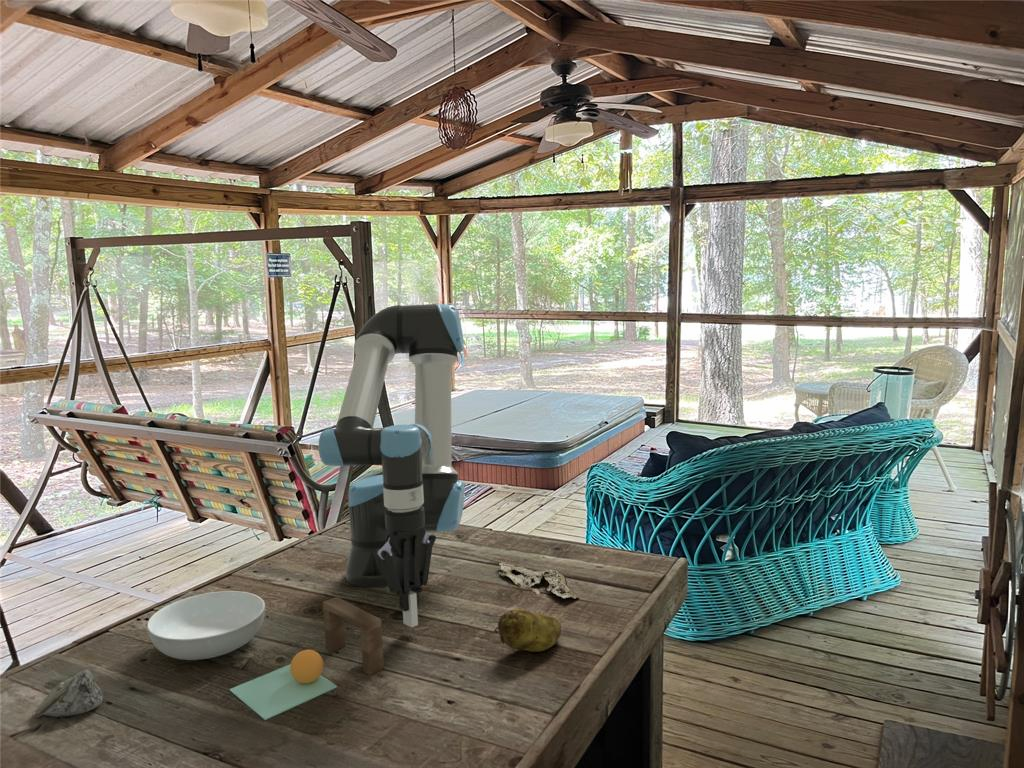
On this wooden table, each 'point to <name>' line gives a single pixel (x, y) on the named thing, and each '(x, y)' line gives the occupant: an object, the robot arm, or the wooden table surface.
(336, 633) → the bridge
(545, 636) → the potato
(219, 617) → the serving bowl
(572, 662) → the wooden table surface
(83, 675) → the grey rock
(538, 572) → the driftwood
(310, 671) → the ball
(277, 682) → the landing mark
